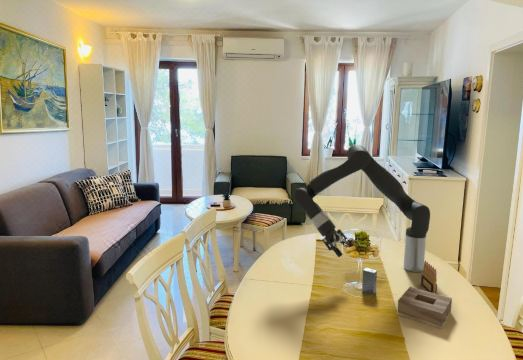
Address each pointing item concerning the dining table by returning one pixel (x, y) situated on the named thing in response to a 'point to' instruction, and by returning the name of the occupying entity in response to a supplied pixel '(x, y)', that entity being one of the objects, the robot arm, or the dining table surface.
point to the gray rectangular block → (369, 281)
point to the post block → (425, 307)
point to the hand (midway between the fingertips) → (345, 253)
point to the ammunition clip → (429, 278)
